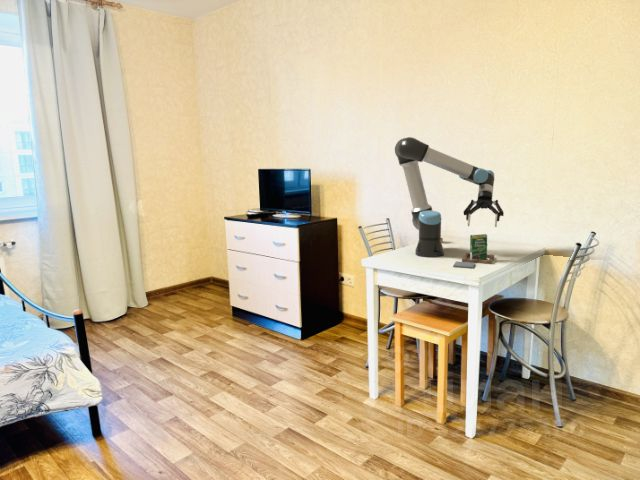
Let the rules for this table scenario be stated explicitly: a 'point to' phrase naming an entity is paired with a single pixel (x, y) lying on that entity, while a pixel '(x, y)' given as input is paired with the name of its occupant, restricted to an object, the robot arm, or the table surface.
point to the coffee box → (478, 247)
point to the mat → (464, 264)
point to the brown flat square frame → (477, 259)
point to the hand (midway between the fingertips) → (481, 225)
